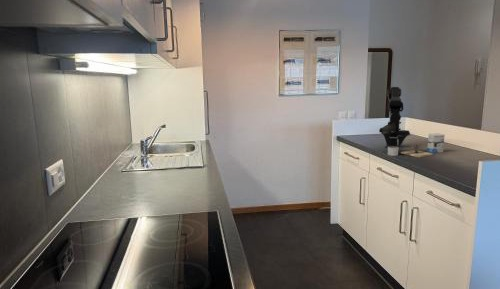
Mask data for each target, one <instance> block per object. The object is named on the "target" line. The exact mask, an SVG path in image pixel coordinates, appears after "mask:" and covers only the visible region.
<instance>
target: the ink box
mask: <svg viewBox="0 0 500 289" xmlns="http://www.w3.org/2000/svg"><path fill="white" fill-rule="evenodd" d="M427 136H428V137H427V138H428V139H427V148H426V152H428V153H433V154H440V153H444V146H445V145H444V144H445V134H444V133H439V132H438V133H437V132H436V133H435V132H434V133H429V134H428V135H427Z"/></svg>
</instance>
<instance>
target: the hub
mask: <svg viewBox="0 0 500 289" xmlns="http://www.w3.org/2000/svg"><path fill="white" fill-rule="evenodd" d="M399 147H400V146H398V145H397V146H388V148H387V156H393V157H394V156H395V157H396V156H397V157H398V156H399Z"/></svg>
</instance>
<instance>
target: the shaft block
mask: <svg viewBox="0 0 500 289" xmlns="http://www.w3.org/2000/svg"><path fill="white" fill-rule="evenodd" d="M414 145H415V146H414V149H411V150H405V151H400V154H402V155H405V156H412V157H416V158H424V157H430V156H434V153H430V152H427V151H422V150H419V149H420V144H419V143H415V144H414Z"/></svg>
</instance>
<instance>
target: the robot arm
mask: <svg viewBox="0 0 500 289" xmlns="http://www.w3.org/2000/svg"><path fill="white" fill-rule="evenodd" d="M387 97H388V98H387V99H388V112H389V121H388V122H387V124H386V125H384V126H382V127H380V128H379V133H380V134H381V135H382V136H383V137H384V139H385V143H386V145H385V146H384V148H387V149H388V146H397V147H402V146H401V145H402V144H403V142H404V140H406V137H408V136H410V130H408V129H407V130H406V129H401V128H400V124H402V121H401V119H402V116H401V112H403V110H404V102H403V101H402V98H401V97H402V89H401V88H400V87H398V86H392V87H390V88H388V89H387Z"/></svg>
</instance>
